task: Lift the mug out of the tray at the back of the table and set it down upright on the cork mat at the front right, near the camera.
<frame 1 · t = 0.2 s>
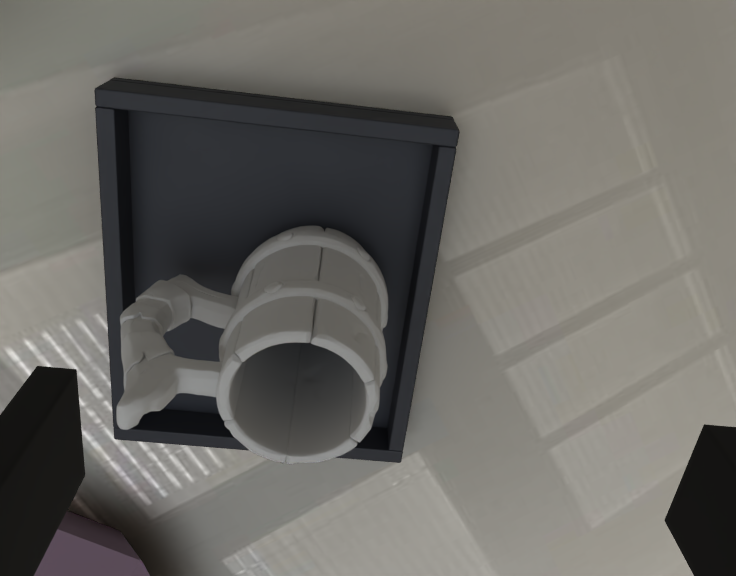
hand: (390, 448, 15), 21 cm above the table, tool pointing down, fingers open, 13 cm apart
flask: (70, 561, 45), on the table
mug: (273, 281, 36), resting on tray
tray: (274, 278, 36), on the table
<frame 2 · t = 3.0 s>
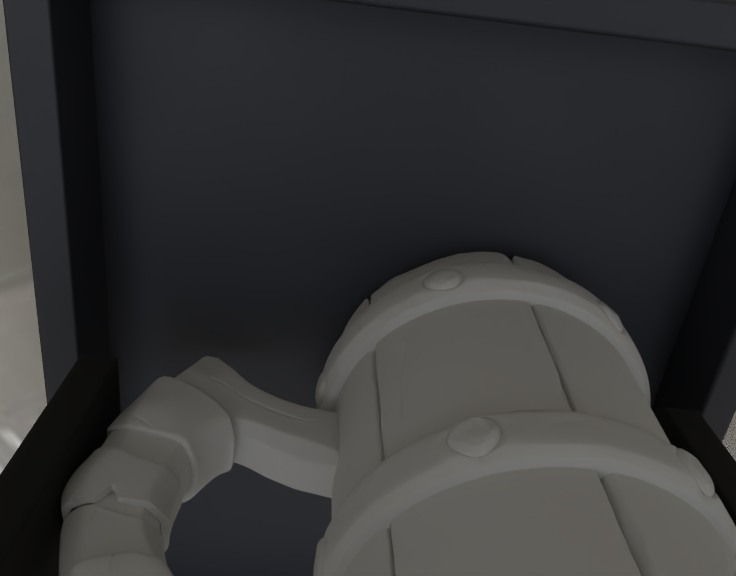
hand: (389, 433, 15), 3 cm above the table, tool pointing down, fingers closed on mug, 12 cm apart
mug: (390, 362, 18), resting on tray, touching gripper
tray: (389, 353, 18), on the table
when the fingers open (3 cm above the table, at t = 12.0 s): mug stays where it is, resting on mat.
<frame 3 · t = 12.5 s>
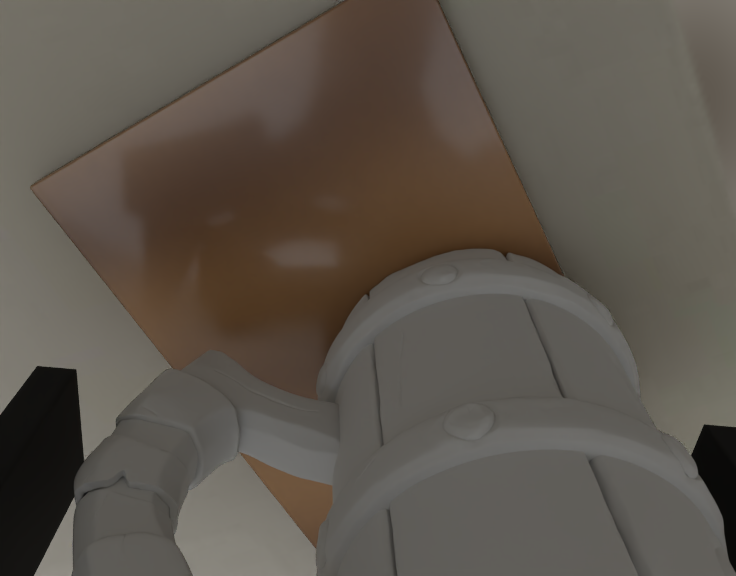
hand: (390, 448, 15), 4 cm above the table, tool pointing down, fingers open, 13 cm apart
mug: (388, 356, 18), resting on mat
mat: (383, 349, 18), on the table
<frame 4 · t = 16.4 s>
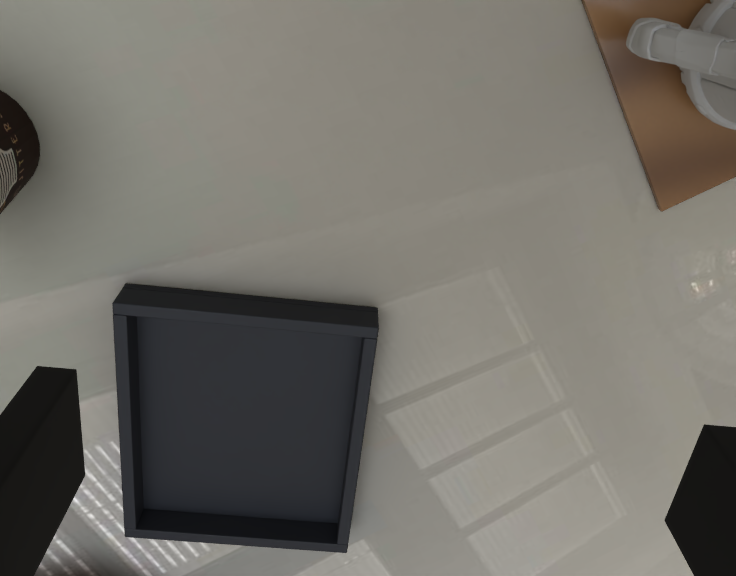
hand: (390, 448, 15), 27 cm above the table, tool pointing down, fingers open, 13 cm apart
mug: (707, 43, 36), resting on mat
tray: (247, 416, 47), on the table
mat: (703, 41, 37), on the table
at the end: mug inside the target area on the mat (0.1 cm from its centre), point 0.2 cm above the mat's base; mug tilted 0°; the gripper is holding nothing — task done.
